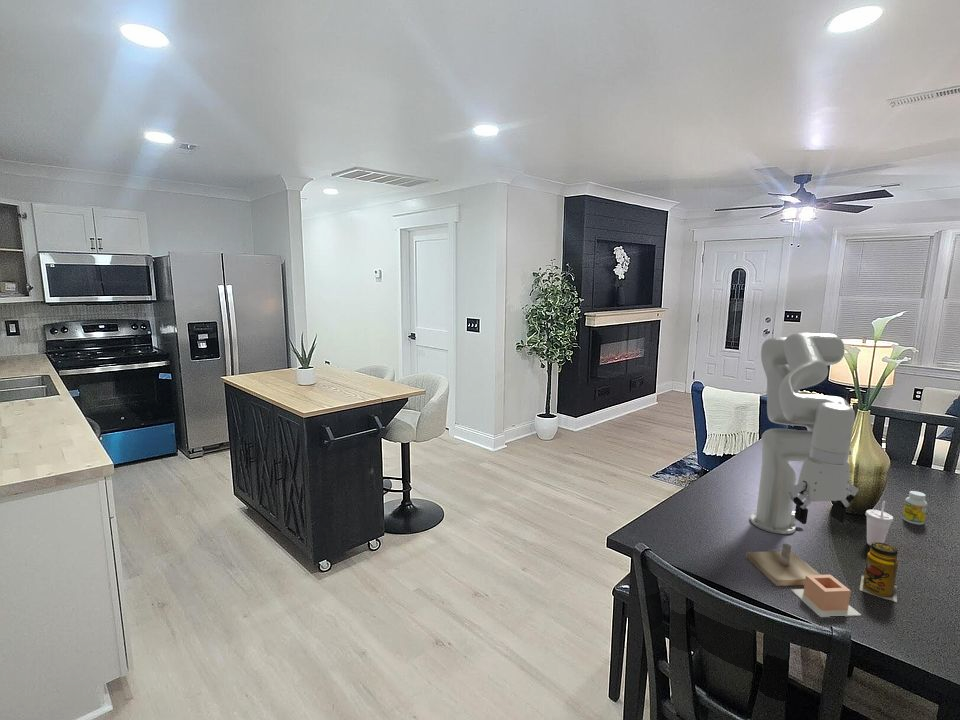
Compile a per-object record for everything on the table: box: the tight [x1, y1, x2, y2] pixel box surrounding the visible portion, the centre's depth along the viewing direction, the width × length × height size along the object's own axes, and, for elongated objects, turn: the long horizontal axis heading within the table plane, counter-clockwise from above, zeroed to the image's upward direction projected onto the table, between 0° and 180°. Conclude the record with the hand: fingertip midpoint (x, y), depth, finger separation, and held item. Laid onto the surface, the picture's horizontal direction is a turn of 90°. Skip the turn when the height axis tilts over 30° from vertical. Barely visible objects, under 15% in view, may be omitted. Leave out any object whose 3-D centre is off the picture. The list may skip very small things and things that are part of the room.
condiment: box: [859, 542, 899, 603], centre depth 126 cm, size 7×8×12 cm
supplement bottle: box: [902, 490, 928, 526], centre depth 161 cm, size 5×5×10 cm
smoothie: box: [865, 500, 894, 547], centre depth 146 cm, size 6×6×14 cm
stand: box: [745, 543, 821, 587], centre depth 134 cm, size 13×13×7 cm
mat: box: [790, 588, 862, 618], centre depth 121 cm, size 10×10×1 cm
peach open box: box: [803, 574, 852, 611], centre depth 121 cm, size 6×6×5 cm
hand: (818, 520), depth 122 cm, fingers open, 9 cm apart
